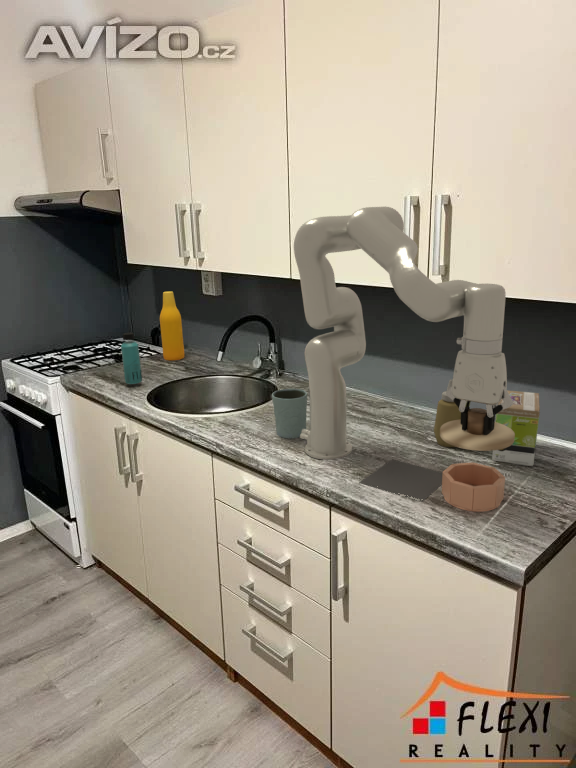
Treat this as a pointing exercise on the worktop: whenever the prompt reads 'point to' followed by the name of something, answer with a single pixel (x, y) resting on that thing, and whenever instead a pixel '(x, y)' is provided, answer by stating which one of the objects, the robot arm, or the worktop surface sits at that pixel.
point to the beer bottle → (171, 329)
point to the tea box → (520, 428)
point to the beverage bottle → (131, 360)
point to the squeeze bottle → (445, 415)
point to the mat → (405, 479)
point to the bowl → (473, 486)
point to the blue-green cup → (290, 412)
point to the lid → (477, 433)
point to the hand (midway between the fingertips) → (476, 429)
